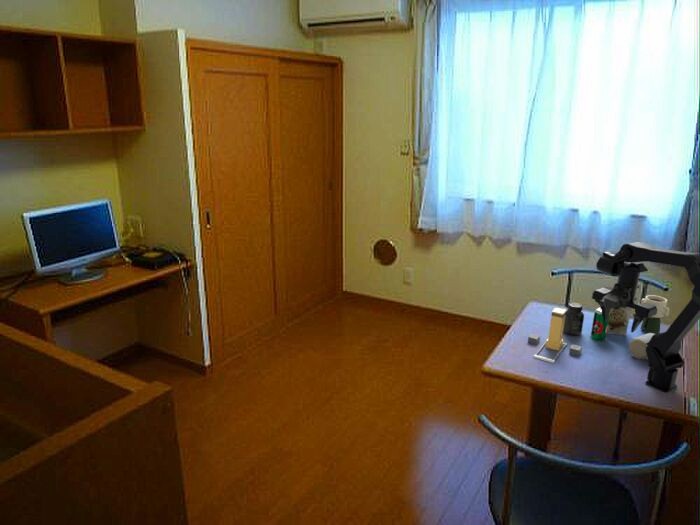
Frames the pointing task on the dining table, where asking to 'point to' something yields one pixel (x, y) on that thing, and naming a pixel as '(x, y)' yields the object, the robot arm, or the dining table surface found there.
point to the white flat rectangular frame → (573, 350)
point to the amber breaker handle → (556, 329)
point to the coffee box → (618, 319)
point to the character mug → (654, 321)
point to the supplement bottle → (573, 320)
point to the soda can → (599, 326)
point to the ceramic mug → (640, 346)
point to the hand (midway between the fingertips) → (618, 326)
